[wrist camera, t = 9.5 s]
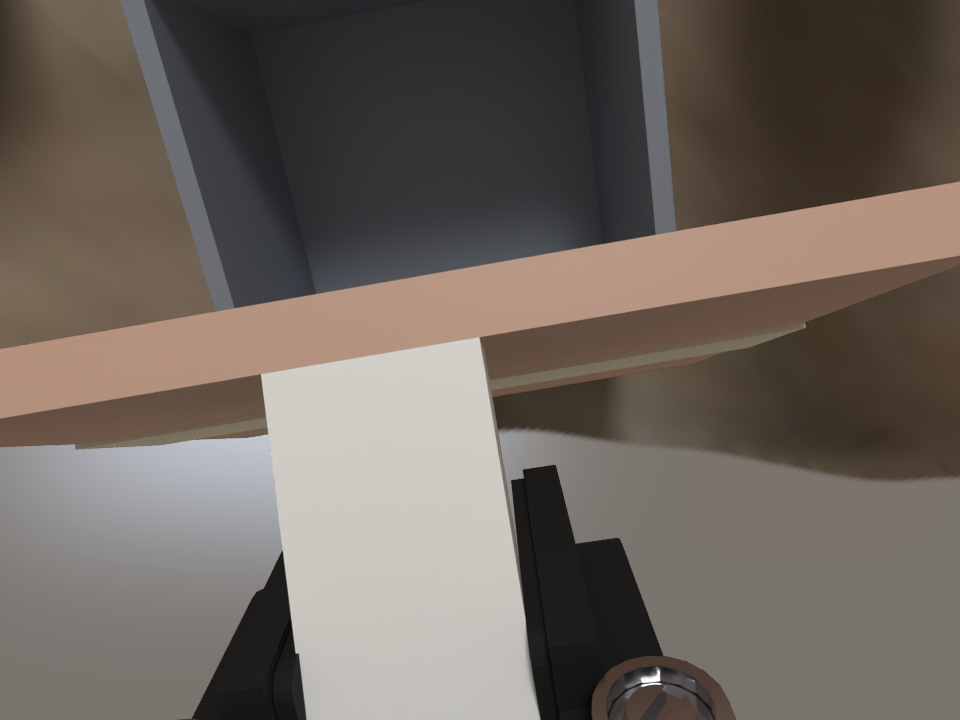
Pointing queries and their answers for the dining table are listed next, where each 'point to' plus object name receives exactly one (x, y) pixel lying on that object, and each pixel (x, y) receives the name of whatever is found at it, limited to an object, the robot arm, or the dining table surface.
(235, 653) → the robot arm
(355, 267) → the carton
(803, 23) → the dining table surface
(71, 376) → the lid
